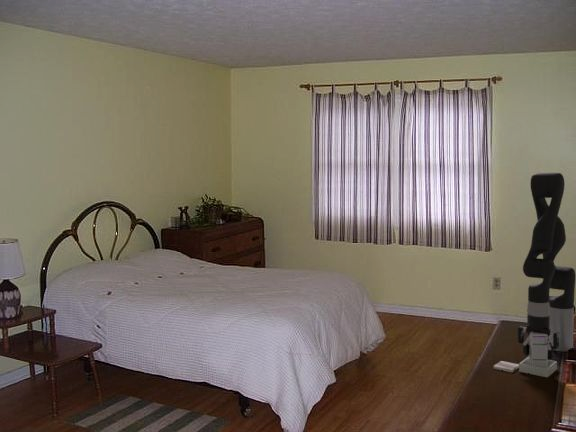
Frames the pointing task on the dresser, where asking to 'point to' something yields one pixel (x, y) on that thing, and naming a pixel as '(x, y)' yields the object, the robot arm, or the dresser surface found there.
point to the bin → (537, 368)
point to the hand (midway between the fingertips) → (538, 357)
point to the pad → (506, 366)
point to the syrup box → (538, 350)
